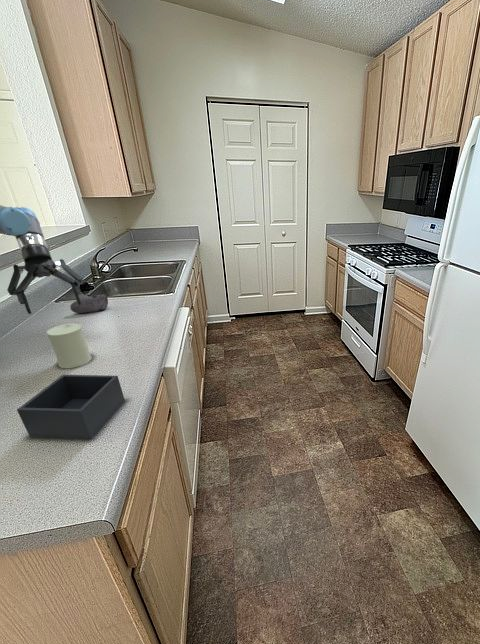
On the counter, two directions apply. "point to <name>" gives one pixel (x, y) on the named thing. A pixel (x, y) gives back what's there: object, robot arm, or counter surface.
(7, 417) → the counter surface
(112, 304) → the counter surface
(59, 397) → the open box
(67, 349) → the can
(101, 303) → the perforated stone tool
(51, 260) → the robot arm
